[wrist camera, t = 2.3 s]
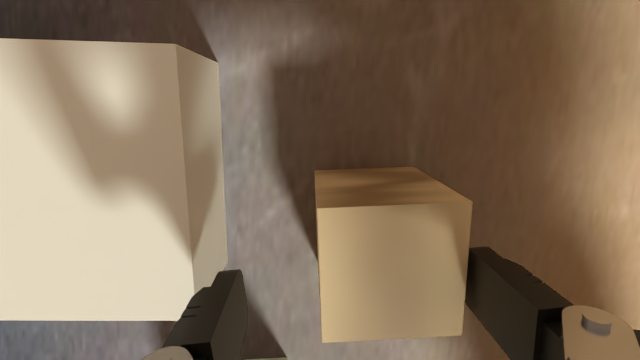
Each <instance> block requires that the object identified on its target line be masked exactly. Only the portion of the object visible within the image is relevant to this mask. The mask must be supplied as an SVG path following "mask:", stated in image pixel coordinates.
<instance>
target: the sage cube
mask: <svg viewBox="0 0 640 360" xmlns="http://www.w3.org/2000/svg"><path fill="white" fill-rule="evenodd" d="M246 360H287V357H284V358H265V359H246Z"/></svg>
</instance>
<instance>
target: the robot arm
mask: <svg viewBox="0 0 640 360" xmlns="http://www.w3.org/2000/svg"><path fill="white" fill-rule="evenodd" d="M465 303H466V304H467V306H468V307H469V308H470V310H471V311H472V312H473V313H474V315H475V316H476V317H477V318H478V320H479V321H480V322H481V323H482V325H483V326H484V327H485V328H486V330H487V331H488V332H489V333H490V334H491V336H492V337H493V338H494V339H495V341H496V342H497V343H498V344H499V346H500V347H501V348H502V349H503V351H504V352H505V353H506V354H507V356H508V357H509V358H510V359H511V360H640V330H633V329H632V328H631V326H630V325H629V324H627V323H626V322H625V321H624V320H622V319H621V318H619V317H617V316H616V315H614V314H611V313H609V312H607V311H604V310H601V309H598V308H594V307H590V306H583V305H573V304H572V303H570V302H569V301H568V300H566V299H565V298H564V297H562V296H561V295H560V294H558V293H557V292H556V291H554V290H553V289H552V288H550V287H549V286H548V285H546V284H545V283H542V281H541V280H540V279H538V278H537V277H536V276H533V275H532V273H530V272H529V271H528V270H526V269H525V268H524V267H522V266H521V265H519V264H516V263H514V262H512V261H509V260H507V259H503V258H502V257H501V256H499V255H498V254H497V253H496V252H494V251H493V250H492V249H490V248H489V247H476V248H469V254H468V267H467V279H466V291H465ZM247 323H248V308H247V302H246V295H245V288H244V282H243V275H242V272H241V270H240V269H239V270H228V271H219V272H218V273H217V275H216V277H215V279H214V281H213V283H212V285H211V287H203V288H202V289H201V290H199V291H198V292H197V293H196V294H195V295H194V296H192V298H191V299H190V301H189V303H188V305H187V306H186V309H185V310H184V311H183V313H182V315H181V318H180V319H179V320H178V322H177V324H176V325H175V327H174V329H173V330H172V332H171V334H170V336H169V337H168V339H167V341H166V343H165V344H164V346H163V348H161V349H159V350H156V351H154V352H152V353H150V354H148V355H147V356H145V357H144V358H142V359H141V360H239V356H240V352H241V348H242V345H243V341H244V337H245V333H246V329H247Z"/></svg>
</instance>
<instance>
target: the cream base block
mask: <svg viewBox="0 0 640 360" xmlns="http://www.w3.org/2000/svg"><path fill="white" fill-rule="evenodd" d="M227 262H228V260H227V238H226V217H225V195H224V174H223V153H222V131H221V110H220V89H219V67H218V63H217V62H215V61H213V60H211V59H208V58H206V57H204V56H202V55H199V54H197V53H195V52H193V51H190V50H188V49H186V48H184V47H181V46H179V45H177V44H165V43H133V42H102V41H70V40H39V39H7V38H0V320H68V321H178V320H179V319H180V318H181V315H182V313H183V311H184V310H185V309H186V306H187V305H188V303H189V301H190V299H191V298H192V296H194V295H195V294H196V293H197V292H198V291H199V290H201V289H202V288H203V287H211V285H212V283H213V281H214V279H215V277H216V275H217V273H218V272H219V271H223V270H224V268H225V266H226V264H227Z"/></svg>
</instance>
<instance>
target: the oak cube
mask: <svg viewBox="0 0 640 360" xmlns="http://www.w3.org/2000/svg"><path fill="white" fill-rule="evenodd" d="M314 175H315V200H316V226H317V251H318V273H319V291H320V310H321V329H322V343H329V342H347V341H366V340H385V339H404V338H423V337H442V336H461V335H462V328H463V316H464V303H465V291H466V279H467V267H468V254H469V242H470V230H471V218H472V205H473V202H472V201H471V200H469V199H467V198H466V197H464V196H462V195H461V194H459V193H457V192H455V191H454V190H452V189H450V188H449V187H447V186H445V185H444V184H442V183H440V182H439V181H437V180H435V179H434V178H432V177H430V176H429V175H427V174H425V173H424V172H422V171H420V170H418V169H417V168H415V167H390V168H364V169H339V170H314Z"/></svg>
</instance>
